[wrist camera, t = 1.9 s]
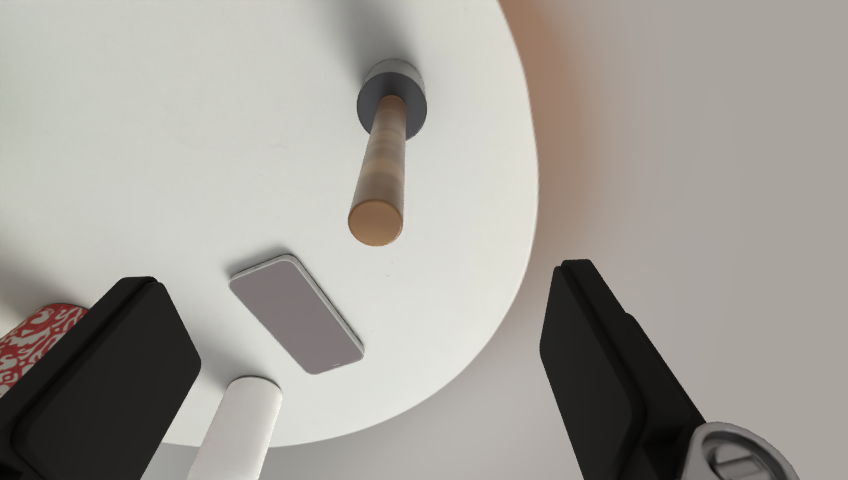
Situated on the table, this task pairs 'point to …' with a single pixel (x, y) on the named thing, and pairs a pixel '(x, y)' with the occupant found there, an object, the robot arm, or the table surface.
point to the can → (239, 432)
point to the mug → (34, 340)
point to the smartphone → (297, 314)
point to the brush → (385, 149)
